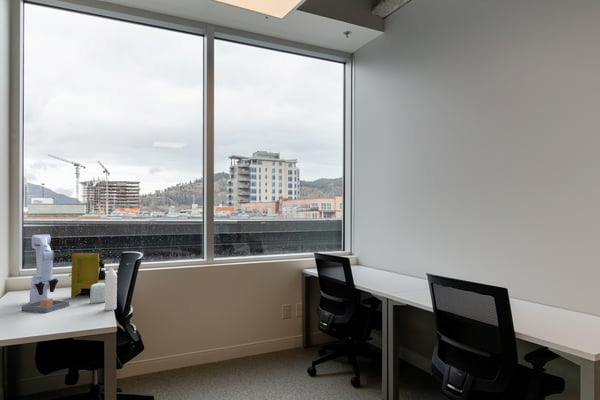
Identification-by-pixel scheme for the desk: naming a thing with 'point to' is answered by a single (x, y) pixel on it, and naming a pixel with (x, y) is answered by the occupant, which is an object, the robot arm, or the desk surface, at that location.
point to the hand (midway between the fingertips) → (46, 293)
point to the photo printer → (97, 293)
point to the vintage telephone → (86, 272)
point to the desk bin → (36, 307)
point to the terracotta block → (46, 302)
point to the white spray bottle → (110, 289)
